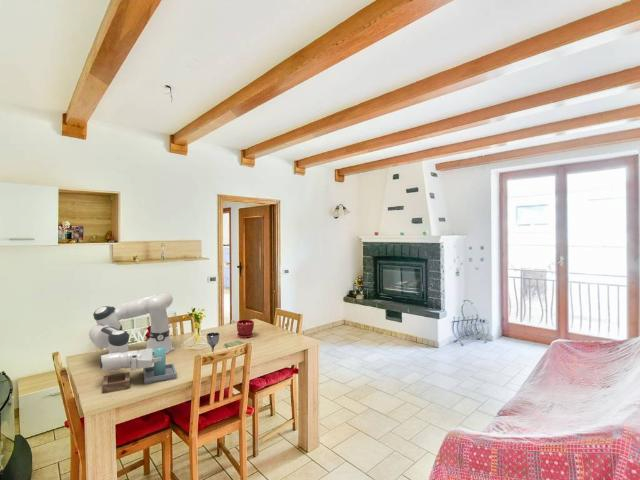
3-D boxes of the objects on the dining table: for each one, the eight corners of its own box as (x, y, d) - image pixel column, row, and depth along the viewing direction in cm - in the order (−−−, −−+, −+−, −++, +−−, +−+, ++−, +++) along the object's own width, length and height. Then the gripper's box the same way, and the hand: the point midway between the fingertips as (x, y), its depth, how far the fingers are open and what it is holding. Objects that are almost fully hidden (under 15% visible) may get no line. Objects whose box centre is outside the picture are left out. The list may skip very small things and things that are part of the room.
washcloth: (235, 353, 232) (235, 349, 232) (222, 347, 245) (223, 342, 245) (252, 349, 242) (252, 345, 242) (238, 343, 254) (239, 339, 254)
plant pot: (233, 338, 265) (233, 322, 264) (242, 333, 277) (242, 318, 277) (248, 340, 261) (248, 324, 261) (256, 335, 274) (256, 320, 273)
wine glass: (220, 354, 229) (220, 332, 228) (217, 359, 221) (217, 336, 220) (208, 354, 229) (208, 332, 228) (204, 358, 221) (205, 335, 220)
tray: (143, 373, 197) (143, 368, 197) (173, 368, 205) (173, 363, 204) (144, 384, 183) (144, 378, 183) (176, 378, 191) (176, 373, 191)
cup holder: (103, 383, 182) (103, 376, 182) (129, 379, 188) (129, 372, 188) (102, 393, 172) (102, 385, 172) (129, 388, 178) (129, 380, 177)
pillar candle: (151, 374, 193) (152, 348, 193) (161, 371, 198) (162, 345, 197) (157, 377, 189) (157, 350, 189) (167, 373, 194) (168, 347, 194)
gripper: (135, 358, 197) (161, 354, 203) (132, 371, 179) (161, 367, 185) (135, 347, 197) (161, 344, 203) (132, 359, 179) (161, 356, 185)
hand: (161, 355), depth 194 cm, fingers open, 8 cm apart
